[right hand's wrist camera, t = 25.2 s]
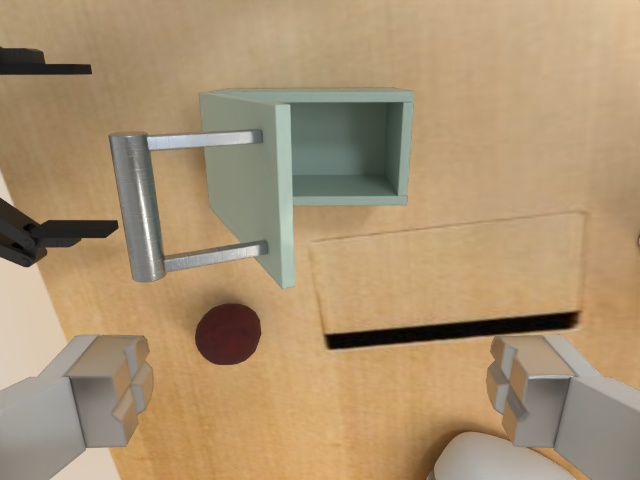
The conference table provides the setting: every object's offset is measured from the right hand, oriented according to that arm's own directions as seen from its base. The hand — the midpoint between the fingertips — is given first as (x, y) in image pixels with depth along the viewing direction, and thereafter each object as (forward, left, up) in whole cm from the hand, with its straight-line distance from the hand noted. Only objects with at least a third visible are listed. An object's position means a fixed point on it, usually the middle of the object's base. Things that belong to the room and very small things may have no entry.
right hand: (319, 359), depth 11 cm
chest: (0, +1, -40) cm, 40 cm away
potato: (-12, +22, -40) cm, 47 cm away
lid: (+3, +4, -22) cm, 22 cm away
